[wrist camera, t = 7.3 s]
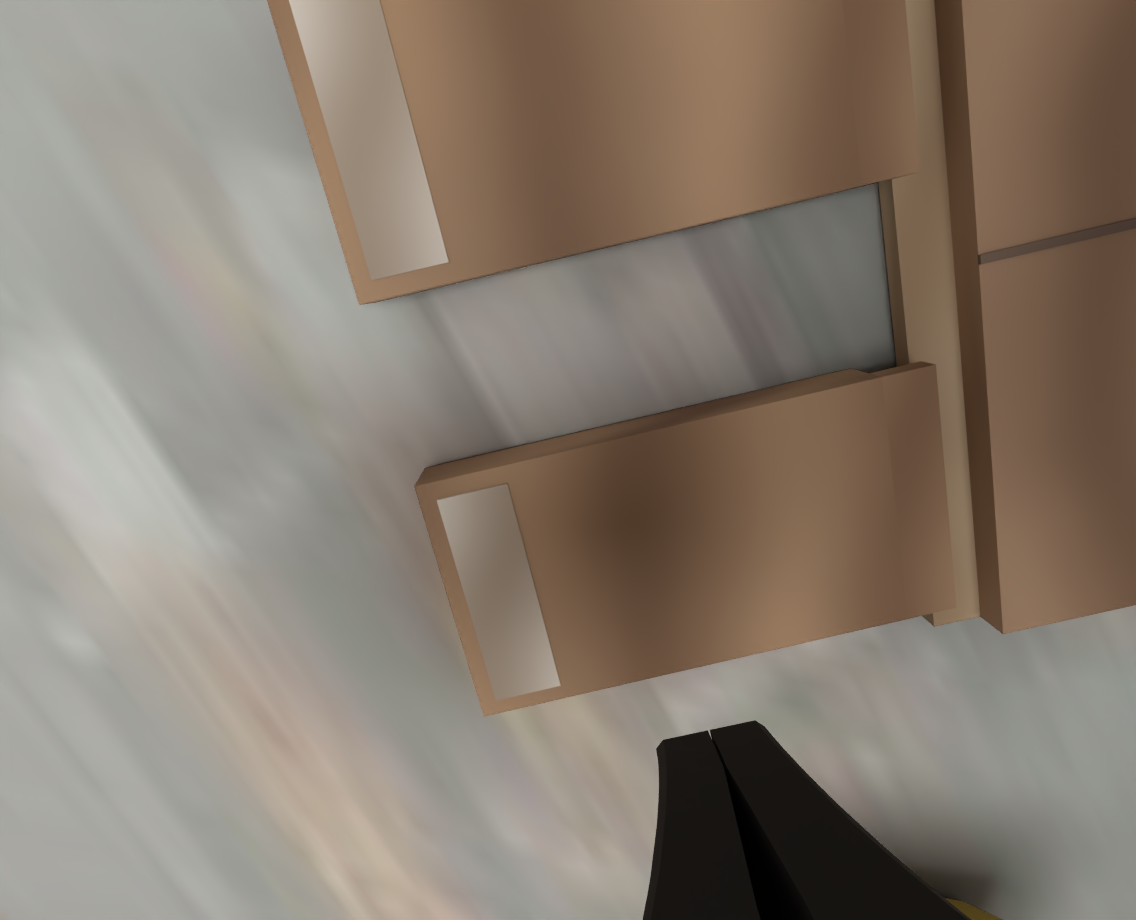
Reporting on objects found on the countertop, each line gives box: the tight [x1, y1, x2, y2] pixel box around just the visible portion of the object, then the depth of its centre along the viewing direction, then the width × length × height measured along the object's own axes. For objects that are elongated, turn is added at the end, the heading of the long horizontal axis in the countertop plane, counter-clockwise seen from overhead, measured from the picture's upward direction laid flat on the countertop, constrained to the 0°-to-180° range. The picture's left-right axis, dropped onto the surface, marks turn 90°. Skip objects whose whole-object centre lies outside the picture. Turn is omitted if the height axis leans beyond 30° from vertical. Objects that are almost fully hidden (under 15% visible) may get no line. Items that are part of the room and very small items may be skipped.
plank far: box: [414, 361, 956, 716], centre depth 16 cm, size 12×6×2 cm, turn 103°
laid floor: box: [878, 0, 1136, 634], centre depth 15 cm, size 8×18×2 cm, turn 13°
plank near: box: [267, 0, 920, 305], centre depth 14 cm, size 12×6×2 cm, turn 103°
